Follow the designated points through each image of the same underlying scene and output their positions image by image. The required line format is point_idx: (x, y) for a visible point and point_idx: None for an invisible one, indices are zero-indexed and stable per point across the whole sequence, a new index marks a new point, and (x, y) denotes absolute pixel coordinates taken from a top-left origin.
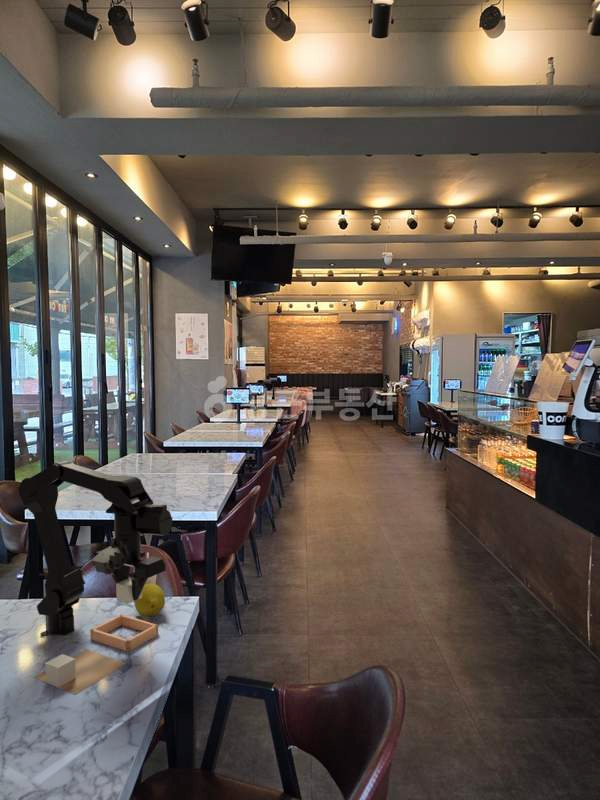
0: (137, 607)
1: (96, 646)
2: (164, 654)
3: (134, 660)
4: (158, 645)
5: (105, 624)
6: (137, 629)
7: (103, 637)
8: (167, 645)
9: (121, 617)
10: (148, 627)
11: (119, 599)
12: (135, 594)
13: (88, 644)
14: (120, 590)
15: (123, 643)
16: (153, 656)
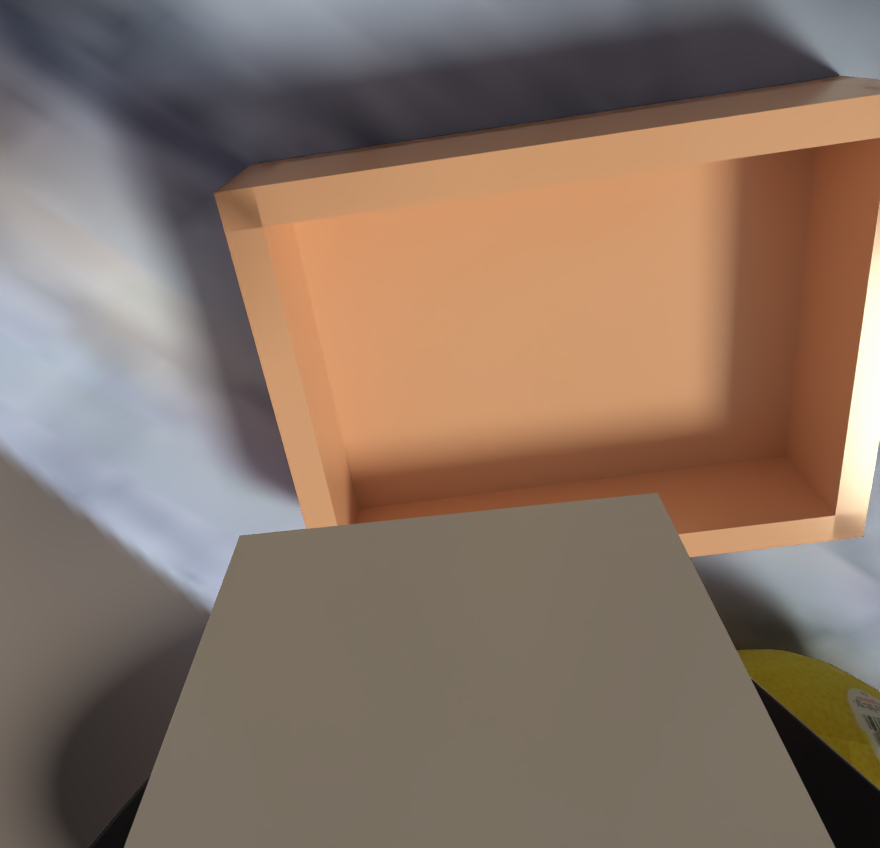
0: (800, 686)
1: (720, 71)
2: (30, 388)
3: (117, 147)
4: (222, 450)
5: (861, 305)
6: (571, 491)
7: (654, 118)
8: (164, 491)
9: (824, 506)
10: None
11: (561, 529)
12: (129, 813)
13: (844, 39)
14: (552, 743)
15: (297, 174)
16: (62, 309)
